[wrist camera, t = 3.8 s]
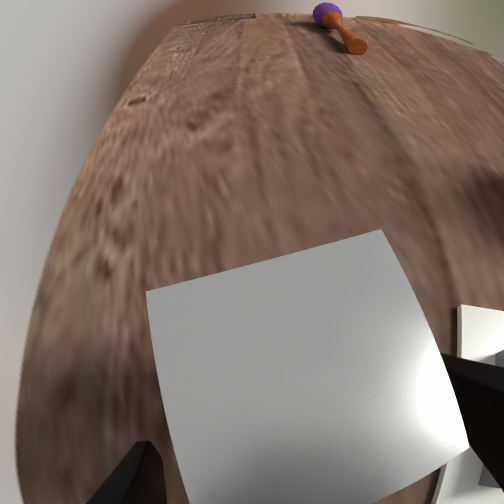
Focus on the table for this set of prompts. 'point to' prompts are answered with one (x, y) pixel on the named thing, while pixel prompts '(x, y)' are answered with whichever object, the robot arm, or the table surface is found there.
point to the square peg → (303, 379)
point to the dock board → (468, 463)
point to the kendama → (338, 27)
